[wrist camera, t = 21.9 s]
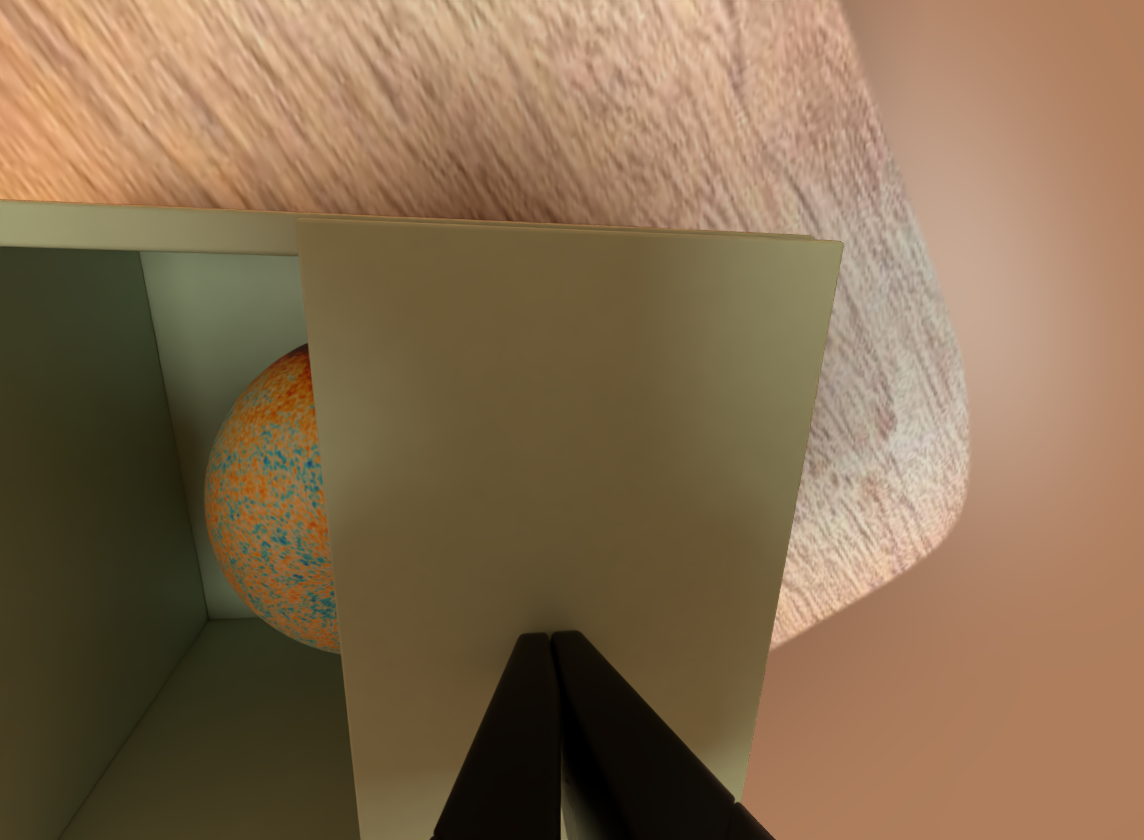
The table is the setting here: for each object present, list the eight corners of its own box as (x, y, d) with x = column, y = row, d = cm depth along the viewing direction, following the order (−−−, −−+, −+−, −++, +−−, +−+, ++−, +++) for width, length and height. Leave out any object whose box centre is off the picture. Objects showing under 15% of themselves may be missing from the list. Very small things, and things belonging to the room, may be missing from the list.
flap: (827, 240, 7) (846, 241, 7) (715, 881, 11) (723, 905, 11) (304, 218, 7) (293, 216, 6) (375, 923, 10) (371, 950, 10)
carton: (648, 227, 16) (816, 235, 8) (618, 600, 20) (710, 861, 12) (119, 204, 14) (-375, 183, 6) (202, 623, 18) (-30, 954, 10)
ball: (328, 568, 17) (232, 784, 11) (232, 340, 15) (28, 436, 8) (558, 509, 18) (603, 681, 11) (502, 277, 15) (515, 321, 9)
